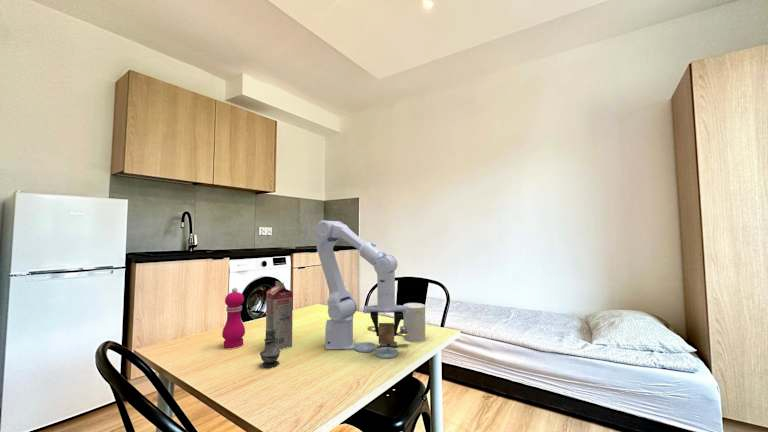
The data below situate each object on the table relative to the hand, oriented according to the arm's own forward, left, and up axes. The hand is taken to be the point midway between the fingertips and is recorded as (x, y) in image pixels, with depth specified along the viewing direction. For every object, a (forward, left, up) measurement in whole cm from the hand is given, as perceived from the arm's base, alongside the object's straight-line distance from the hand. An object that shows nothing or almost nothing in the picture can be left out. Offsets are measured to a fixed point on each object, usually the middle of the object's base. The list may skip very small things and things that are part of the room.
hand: (386, 335), depth 101 cm
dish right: (0, 0, -6) cm, 6 cm away
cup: (+11, +15, -6) cm, 20 cm away
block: (0, 0, -2) cm, 2 cm away
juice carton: (-37, +8, -6) cm, 38 cm away
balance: (+1, +7, -6) cm, 9 cm away
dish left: (-7, +5, -6) cm, 10 cm away
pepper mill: (-53, +9, -6) cm, 54 cm away
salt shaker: (-35, -7, -6) cm, 36 cm away
